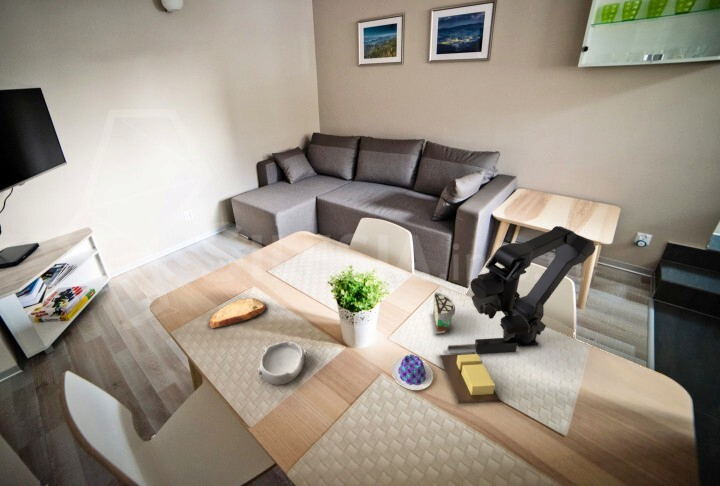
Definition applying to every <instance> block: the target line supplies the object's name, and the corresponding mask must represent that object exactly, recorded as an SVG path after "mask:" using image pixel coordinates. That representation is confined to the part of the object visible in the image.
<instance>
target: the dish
mask: <svg viewBox="0 0 720 486" xmlns="http://www.w3.org/2000/svg"><path fill="white" fill-rule="evenodd" d="M307 356H308V351H307V349H306V348H305V349H303V348H302V347H301V345H299V344H298V343H297V342H294V341H288V340H283V341H279V342H277V343H274V344H271V345H269V346H266V347H265V348H264V349H263V354H262V355H261V358H260V361H259V362H260V363H259V366H257V373H258V375H259V376H260V375H261V376H262V378H263V380H264V381H265V382H267V383H269V384H272V385H284V384H287V383H289V382H292V381H293V380H294V379H295V378H296V377H298V375H299V374H300V373H301V372H302V370H303V368H304V365H305V364H304V363H305V358H307Z"/></svg>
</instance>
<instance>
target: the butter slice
mask: <svg viewBox="0 0 720 486" xmlns="http://www.w3.org/2000/svg"><path fill="white" fill-rule="evenodd" d="M468 354H469V355H458V356H457V365H458V368H459V370H462V366H463V365H477V364H482V359H481V357H480V356H479V355H480V354H477V353H475V354H471V353H468Z"/></svg>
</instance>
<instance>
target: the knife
mask: <svg viewBox="0 0 720 486" xmlns="http://www.w3.org/2000/svg"><path fill="white" fill-rule="evenodd" d="M517 345H518V342H517V341H516V340H515V338H514V337H511V338H510V339H509V340H504V339H503V337H494V338H478V339H476V338H475V341H474V343H466V344H465V343H464V344H448V345H447V350H446V355H451V354H469V353H475V354H478V355H490V354H491V355H493V354H495V355H496V354H511V353H517V349H518V346H517Z"/></svg>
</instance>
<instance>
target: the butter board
mask: <svg viewBox="0 0 720 486" xmlns="http://www.w3.org/2000/svg"><path fill="white" fill-rule="evenodd" d="M469 354H476V352H470V353H453V354H440V355H439V360H440V363H441V365H442V368H443V370H444V373H445V375H446V377H447V379H448V382H449V384H450V387H451V389H452V392H453V394H454V396H455V399H456V401H457V404H468V403H486V402H500V397H499V395H498V393H497V391H496V389H495V388H494V392H493V394H483V395H471V393H470V391H469V389H468V387H467V385H466V383H465V380H464V378H463V376H462V374H461V373H462V370H459V368H458V365H457V356H458V355H469Z"/></svg>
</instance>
